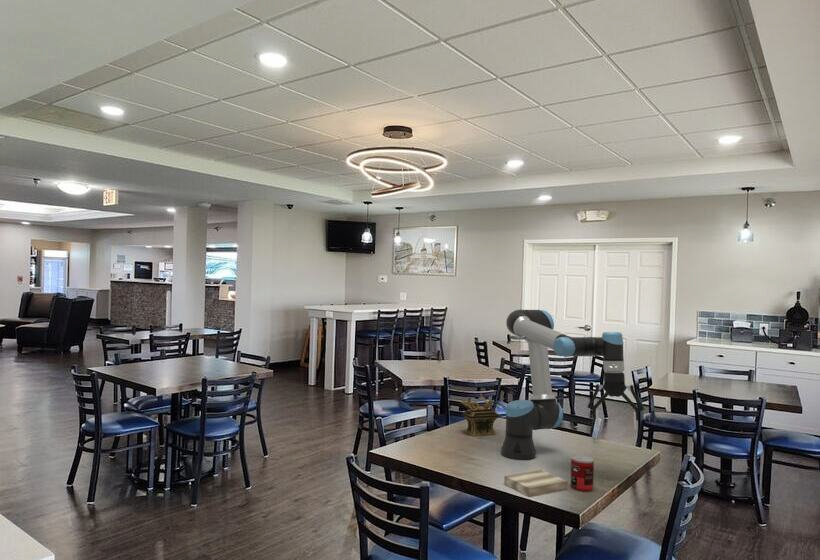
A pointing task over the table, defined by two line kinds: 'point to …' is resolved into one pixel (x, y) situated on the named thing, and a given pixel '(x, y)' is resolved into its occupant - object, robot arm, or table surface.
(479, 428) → the decorative box
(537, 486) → the pale wooden plank
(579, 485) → the canned food
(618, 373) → the robot arm
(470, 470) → the table surface
